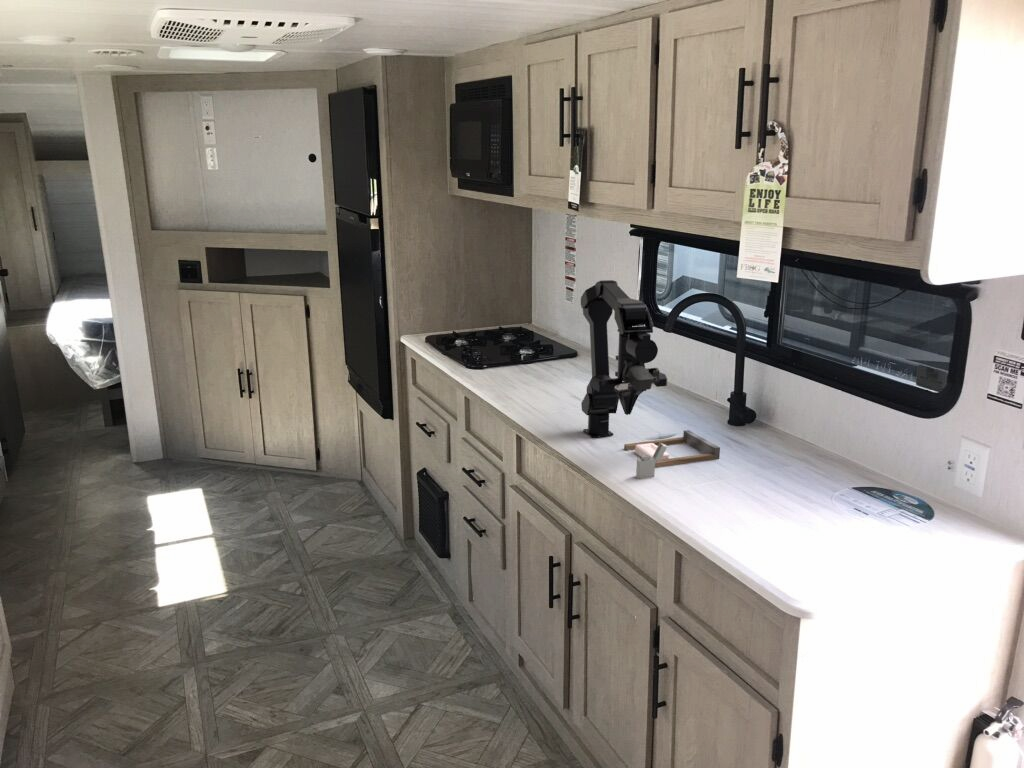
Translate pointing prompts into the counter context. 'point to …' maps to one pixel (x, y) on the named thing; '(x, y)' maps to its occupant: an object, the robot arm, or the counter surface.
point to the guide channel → (690, 438)
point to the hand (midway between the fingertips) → (627, 414)
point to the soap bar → (649, 450)
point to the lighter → (649, 462)
